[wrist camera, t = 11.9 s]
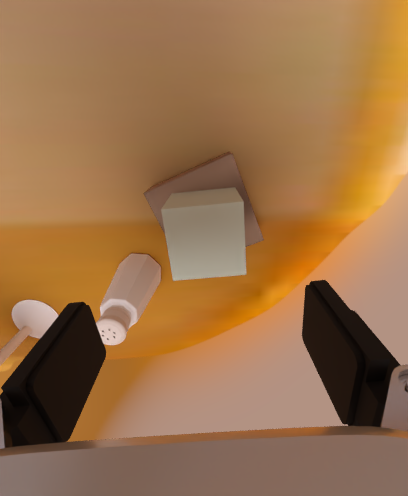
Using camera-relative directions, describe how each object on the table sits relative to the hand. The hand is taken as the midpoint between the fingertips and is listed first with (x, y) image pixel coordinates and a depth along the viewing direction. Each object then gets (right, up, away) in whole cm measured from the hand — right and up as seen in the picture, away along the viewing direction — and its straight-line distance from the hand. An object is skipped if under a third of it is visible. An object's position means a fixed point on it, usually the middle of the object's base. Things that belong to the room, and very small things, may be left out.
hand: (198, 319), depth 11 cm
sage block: (0, +6, +14) cm, 15 cm away
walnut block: (0, +8, +17) cm, 19 cm away
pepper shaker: (-8, 0, +21) cm, 22 cm away
